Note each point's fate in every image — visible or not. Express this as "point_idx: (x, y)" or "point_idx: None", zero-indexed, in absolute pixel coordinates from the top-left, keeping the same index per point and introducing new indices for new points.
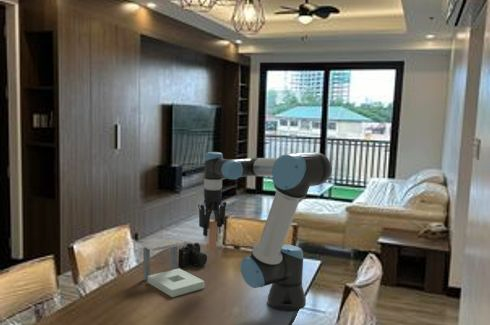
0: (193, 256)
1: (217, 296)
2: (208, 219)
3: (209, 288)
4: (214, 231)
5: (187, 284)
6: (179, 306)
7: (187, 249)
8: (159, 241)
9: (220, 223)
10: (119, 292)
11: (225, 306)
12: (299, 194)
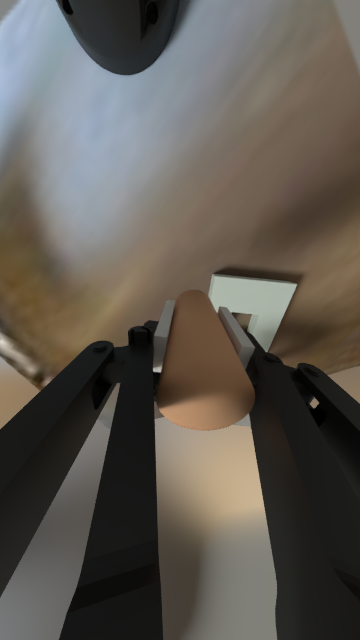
0: (153, 373)
1: (228, 214)
2: (303, 425)
3: (206, 264)
4: (204, 321)
5: (252, 287)
6: (319, 232)
7: (156, 392)
8: (247, 424)
9: (132, 352)
10: (315, 352)
11: (264, 141)
12: None
